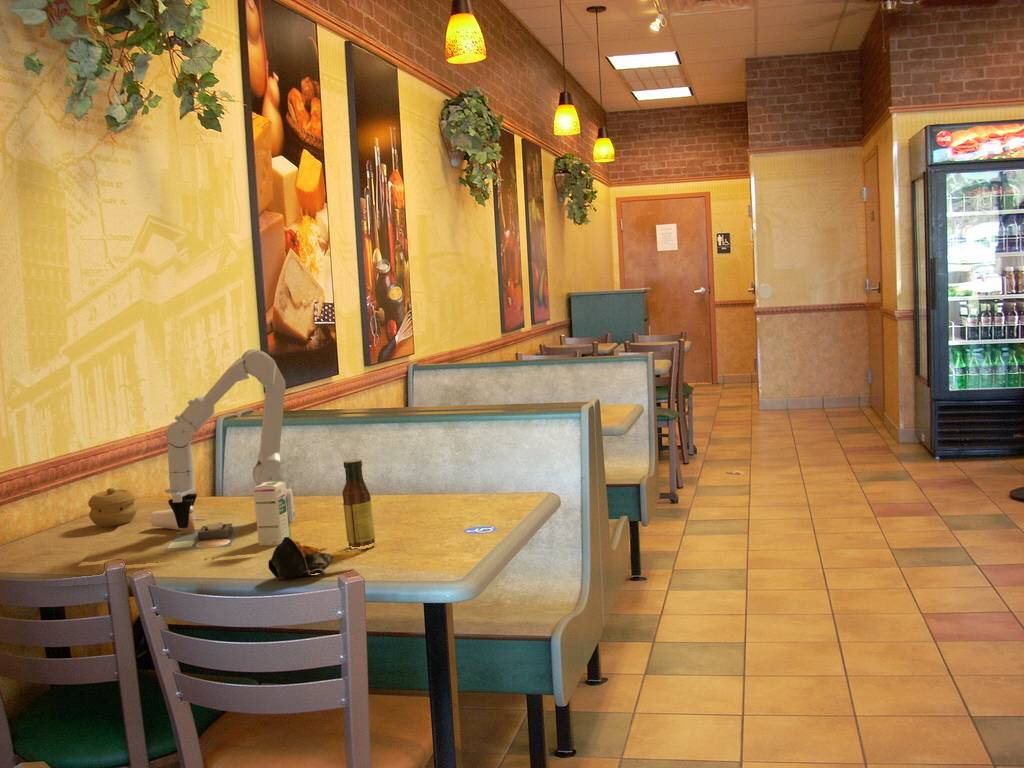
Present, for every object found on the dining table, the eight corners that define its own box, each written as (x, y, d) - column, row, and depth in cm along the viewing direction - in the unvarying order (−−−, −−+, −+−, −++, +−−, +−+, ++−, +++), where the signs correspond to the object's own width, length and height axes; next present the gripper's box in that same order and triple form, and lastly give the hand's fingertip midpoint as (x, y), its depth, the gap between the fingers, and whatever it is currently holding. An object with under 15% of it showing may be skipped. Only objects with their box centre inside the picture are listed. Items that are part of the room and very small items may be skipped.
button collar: (232, 531, 259) (232, 523, 259) (228, 538, 252) (227, 530, 252) (203, 533, 258) (202, 525, 258) (198, 540, 251) (197, 532, 251)
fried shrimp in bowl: (256, 555, 220) (328, 513, 229) (283, 601, 219) (355, 557, 228) (266, 547, 212) (341, 503, 221) (294, 594, 211) (368, 549, 221)
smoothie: (161, 531, 270) (210, 532, 267) (146, 532, 264) (196, 532, 260) (162, 506, 271) (211, 506, 267) (147, 506, 265) (198, 506, 261)
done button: (224, 528, 257) (223, 521, 257) (222, 532, 254) (221, 524, 253) (209, 530, 257) (208, 522, 257) (206, 533, 253) (205, 526, 253)
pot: (80, 531, 274) (76, 492, 273) (109, 520, 285) (105, 483, 284) (119, 531, 270) (116, 492, 269) (147, 520, 282) (143, 483, 281)
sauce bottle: (380, 544, 241) (374, 457, 239) (368, 551, 235) (361, 462, 233) (354, 543, 244) (348, 457, 241) (341, 550, 238) (334, 462, 236)
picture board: (242, 528, 265) (242, 525, 265) (230, 549, 245) (230, 545, 244) (180, 534, 263) (180, 530, 263) (163, 555, 243) (163, 551, 243)
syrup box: (282, 548, 243) (277, 485, 241) (257, 548, 244) (252, 486, 242) (291, 541, 248) (286, 480, 247) (268, 542, 250) (262, 481, 248)
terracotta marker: (196, 530, 262) (194, 504, 261) (194, 534, 259) (191, 508, 258) (182, 532, 262) (179, 506, 261) (179, 535, 258) (176, 509, 258)
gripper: (170, 466, 265) (173, 520, 267) (158, 477, 251) (161, 533, 252) (199, 465, 266) (202, 518, 267) (188, 475, 252) (192, 531, 253)
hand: (184, 526), depth 260 cm, fingers closed on terracotta marker, 3 cm apart
